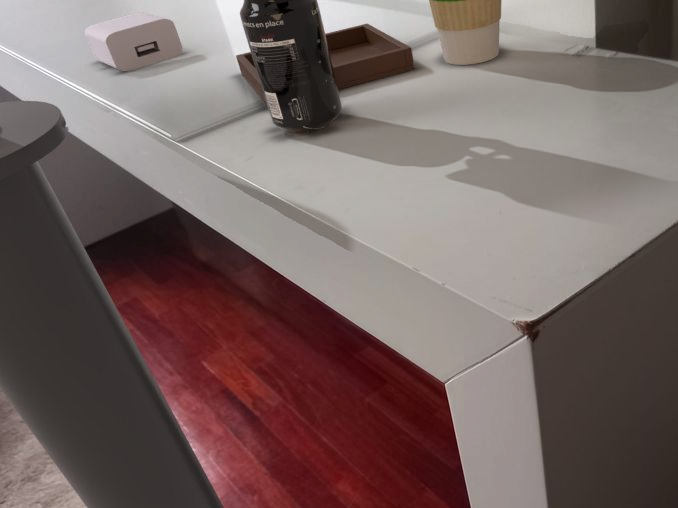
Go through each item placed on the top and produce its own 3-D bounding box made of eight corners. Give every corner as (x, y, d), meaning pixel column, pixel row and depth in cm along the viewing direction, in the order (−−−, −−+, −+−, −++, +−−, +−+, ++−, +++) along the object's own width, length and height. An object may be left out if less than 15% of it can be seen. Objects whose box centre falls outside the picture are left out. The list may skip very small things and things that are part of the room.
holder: (269, 108, 72) (262, 86, 70) (241, 75, 82) (235, 55, 81) (414, 69, 76) (411, 47, 75) (371, 42, 87) (367, 23, 85)
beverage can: (319, 105, 70) (286, -25, 63) (358, 118, 66) (327, -21, 59) (261, 128, 67) (219, -7, 60) (298, 143, 63) (258, 0, 55)
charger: (144, 39, 103) (185, 53, 94) (83, 57, 99) (119, 73, 90) (131, 5, 100) (171, 16, 91) (67, 22, 96) (102, 35, 87)
